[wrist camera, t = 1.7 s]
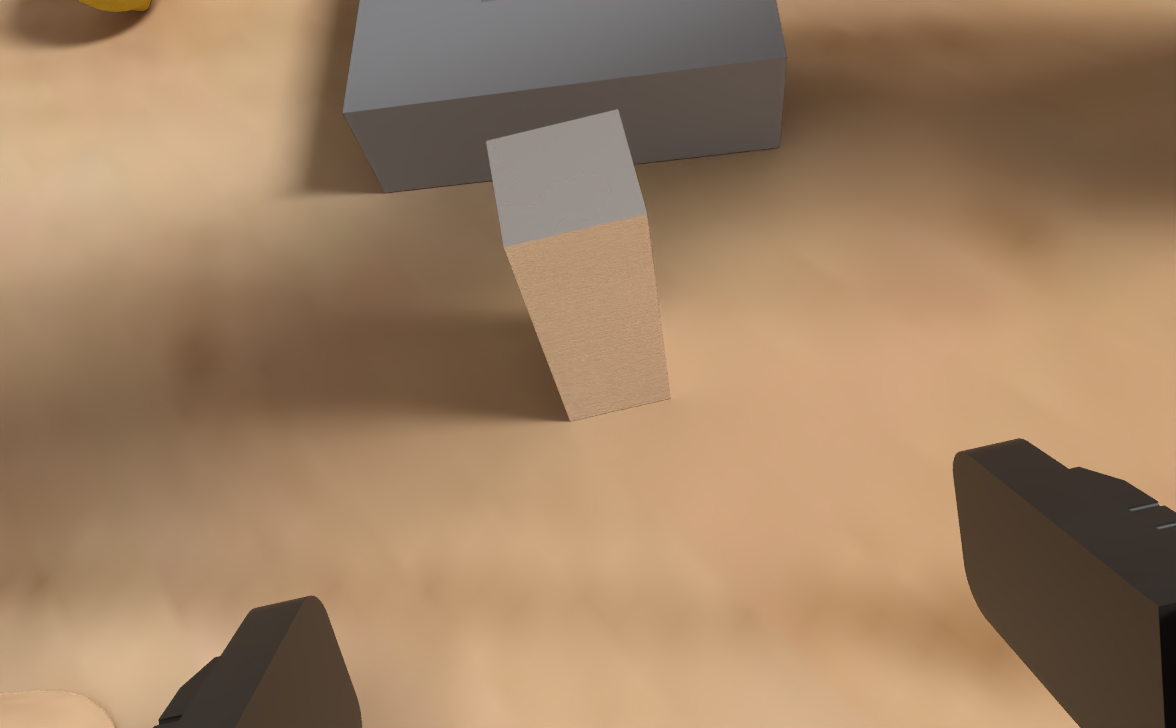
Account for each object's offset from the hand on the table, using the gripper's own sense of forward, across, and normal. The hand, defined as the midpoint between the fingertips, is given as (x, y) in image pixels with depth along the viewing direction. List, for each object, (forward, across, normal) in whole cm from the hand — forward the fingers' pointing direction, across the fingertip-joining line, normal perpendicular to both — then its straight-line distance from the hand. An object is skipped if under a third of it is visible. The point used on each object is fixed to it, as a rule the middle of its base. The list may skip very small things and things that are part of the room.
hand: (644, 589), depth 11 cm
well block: (+31, -2, -10) cm, 33 cm away
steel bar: (+19, 0, +3) cm, 19 cm away
